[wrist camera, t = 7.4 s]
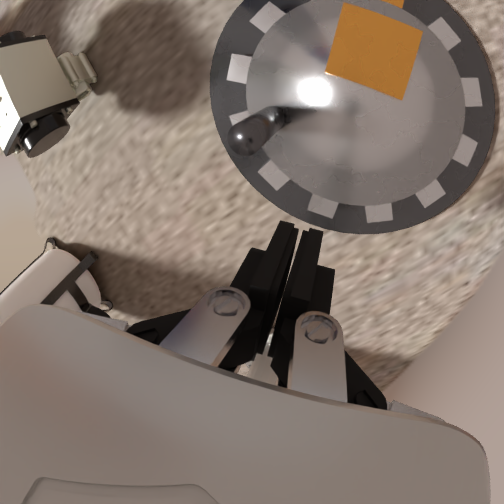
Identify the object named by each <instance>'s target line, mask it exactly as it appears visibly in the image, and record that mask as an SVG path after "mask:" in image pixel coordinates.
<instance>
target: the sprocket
mask: <svg viewBox="0 0 504 504" xmlns="http://www.w3.org/2000/svg"><path fill="white" fill-rule="evenodd" d="M403 3H404V0H311V1H309V2H307V3H304V4H302V5H300V6H298V7H296V8H294V9H293V10H291V11H289V12H288V13H286V14H285V13H284V12H283V11H282V10H280V9H279V8H278V7H276V6H275V5H274V4H272V3H271V2H270V1H269V2H268V3H267V4H266V5H265V6H264V7H263V8H262V9H261V10H260V11H259V12H258V13H257V14H256V15H255V16H254V17H253V18H252V19H251V20H250V22H251V23H252V24H254V25H255V26H256V27H257V28H259V29H260V30H261V31H263V32H264V33H265V35H264V36H263V38H262V39H261V41H260V42H259V44H258V45H257V48H256V50H255V52H254V54H253V56H247V55H242V54H232V55H231V60H230V65H229V70H228V75H227V80H229V81H234V82H239V83H244V84H246V100H247V108H248V109H247V110H244V111H240V112H237V113H234V114H232V115H230V116H229V117H230V120H231V122H232V125H233V126H232V127H231V128H230V130H229V132H228V136H227V140H228V144H229V146H230V148H231V149H232V150H233V151H234V152H235V153H237V154H239V155H242V156H250V155H253V154H255V153H256V152H257V151H258V150H259V149H260V148H261V147H262V148H263V150H264V151H265V152H266V154H267V155H268V157H269V158H270V159H269V160H268V161H267V162H266V163H265V164H264V165H263V166H262V167H261V168H260V169H259V171H258V173H259V174H260V175H261V176H262V177H263V178H264V179H265V180H266V181H267V182H268V183H269V184H270V185H271V186H272V187H273V188H274V189H275V190H276V191H277V190H278V189H279V188H281V187H282V186H283V185H284V184H285V183H286V182H288V181H289V180H290V179H291V180H292V181H293V182H295V183H296V184H298V185H299V186H300V187H302V188H304V189H306V190H307V191H309V192H311V193H313V194H312V197H311V200H310V203H309V206H308V209H307V210H309V211H312V212H315V213H318V214H320V215H323V216H326V217H329V218H332V219H333V216H334V214H335V211H336V209H337V206H338V204H339V203H343V204H348V205H359V206H365V210H366V217H367V223H372V222H381V221H390V220H393V215H392V205H391V203H392V202H395V201H399V200H402V199H405V198H407V197H409V196H411V195H413V194H415V195H416V196H417V197H418V199H419V200H420V202H421V203H422V205H423V206H424V208H426V207H428V206H429V205H430V204H432V203H433V202H435V201H436V200H438V199H439V198H440V197H442V196H443V195H445V194H446V193H445V192H444V190H443V188H442V187H441V185H440V184H439V182H438V181H437V179H436V178H437V177H438V176H439V175H440V174H441V173H442V172H443V171H444V169H445V168H446V167H447V165H448V164H449V162H450V161H451V159H454V160H456V161H458V162H459V163H461V164H463V165H465V166H467V167H468V165H469V163H470V160H471V158H472V156H473V153H474V151H475V149H476V146H477V144H478V143H477V142H476V141H475V140H473V139H472V138H470V137H469V136H467V135H465V134H463V127H464V122H465V107H474V106H482V99H481V93H480V86H479V81H478V78H476V77H460V76H459V73H458V70H457V68H456V65H455V63H454V61H453V59H452V58H451V56H450V54H449V52H448V51H449V50H450V49H451V48H453V47H454V46H455V45H457V44H458V43H459V42H461V40H460V39H459V37H458V36H457V35H456V34H455V32H454V31H453V30H452V29H451V28H450V26H449V25H448V24H447V23H446V22H445V20H444V19H443V18H442V17H440V18H438V19H436V20H434V21H433V22H431V23H430V24H429V25H427V26H426V25H425V24H423V23H422V22H421V21H420V20H419V19H417V18H416V17H415V16H413V15H411V14H410V13H408V12H406V11H405V10H403V9H402V7H403Z"/></svg>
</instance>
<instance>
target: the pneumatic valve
mask: <svg viewBox="0 0 504 504" xmlns="http://www.w3.org/2000/svg"><path fill="white" fill-rule="evenodd" d="M96 77H97V74H96V73H95V71H94V69H93V67H92V66H91V64H90V62H89V60H88V58H87V57H86V55H85V54H84V53H79V54H78V55H77V56H74V55H73V54H72V53H71V52H66V53H63V54H61V55H60V56H58V57H57V58H56V57H55V55H54V53H53V51H52V49H51V47H50V45H49V43H48V41H47V39H46V37H45V35H40V36H35V35H33V36H31V37H28V38H26V36H25V34H24V33H23V32H21V31H13V32H9V33H7V34H5V35H3V36H1V37H0V145H1V147H2V149H3V151H4V153H5V155H6V156H8V155H10V154H12V153H14V152H16V154H18V153H20V152H21V151H23V150H24V151H25V153H26V154H27V156H28V157H29V158H32V157H36V156H38V155H40V154H42V153H43V152H45V151H47V150H48V149H50V148H51V147H52V146H54V145H55V144H56V143H58V142H59V141H60V140H61V139H62V138H63V137H64V136H65V135H66V134H67V133H68V131H69V129H70V125H69V123H68V121H67V118H68V117H69V116H70V114H71V113H72V112H73V111H74V110H75V108H76V107H77V106H78V105H79V104H80V102H79V101H81V100H82V99H84V98H85V97H87V96H88V95H89V94H90V92H91V90H92V88H91V86H90V85H89V84H90V83H95V82H96V81H97V79H96Z"/></svg>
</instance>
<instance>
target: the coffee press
mask: <svg viewBox="0 0 504 504" xmlns="http://www.w3.org/2000/svg"><path fill="white" fill-rule="evenodd" d="M47 242H51V243H52V245H53V249H51V250H49V251H47V252H46V253H45V254H44V251H45V249H46V245H47ZM44 251H43V253H42V254H41V255H40V256H39V257H38V258H37V259H35V260H34V261H33V262H32V263H31V264H30V265H29V266H28V267H27V268H26V269H24V270H23V272H21V273H20V274H19V275H18V276H17V277H16V278H15V279H14V280H13V281H12V282H11V283H10V284H9V285H8V286H7V287H6V288H5V289H4V290H3V291H2V292H1V293H0V324H1V323H2V322H3V321H4V320H5V319H6V318H7V317H8V316H10V315H11V314H12V313H14V312H15V311H17V310H18V309H20V308H22V307H24V306H27V305H33V304H45V305H55V306H59V307H63V308H68V309H71V310H74V311H77V312H85V313H89V314H93V315H98V316H102V317H107V318H110V316H109V315H108V314H107V313H106V312H109V311H110V310H111V309H112V308H113V304H112V303H111V302H110V301H107V300H101V296H100V292H99V289H98V286H97V284H96V282H95V280H94V278H93V277H92V275H91V274H90V272H89V271H88V268H89V267H90V266H91V265H92V264H93V263H94V262H95V261H96V260H97V259H98V257H97V256H96V255H95V254H94V253H93V252H92V251H91V252H90V253H89V254H88V255H87V256H86V257H85V258H84V259H83V260H82V261H81V262H80V261H79V260H78V259H77V258H76V257H74V256H73V255H71V254H70V253H68V252H66V251H64V250H61V249H55V240H54V239H53V238H48V239H47V241H46V243H45V246H44ZM101 304H107V305H108V306H109V310H101V309H99V308H100V305H101Z"/></svg>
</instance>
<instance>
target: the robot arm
mask: <svg viewBox="0 0 504 504" xmlns="http://www.w3.org/2000/svg"><path fill="white" fill-rule="evenodd" d="M298 231H299V229H297V228H294V224H293V223H289V222H285V221H280V222H279V224H278V226H277V229H276V231H275V233H274V235H273V237H272V239H271V241H270V244H269V246H268V248H267V250H266V251H263V250H260V249H256V248H251V249H250V251H249V253H248V254H247V256H246V258H245V260H244V262H243V263H242V265H241V267H240V269H239V271H238V272H237V274H236V276H235V278H234V280H233V281H232V283H231V285H230V287H226V286H222V287H216V288H214V289H211V290H210V291H208V292H207V293H206V294H205V295H204V296H203V297H202V298H201V299H200V300H199V301H198V302H197V304H196V305H195V306H194V307H193V308H192V309H189V310H185V311H181V312H177V313H173V314H169V315H165V316H161V317H157V318H153V319H149V320H145V321H141V322H138V323H136V324H133V325H132V326H130V325H128V322H127V321H122V320H117V319H112V318H107V317H102V316H98V315H93V314H89V313H85V312H77V311H74V310H71V309H68V308H63V307H59V306H55V305H45V304H33V305H27V306H24V307H22V308H20V309H18V310H17V311H15V312H14V313H12V314H11V315H10V316H8V317H7V318H6V319H5V320H4V321H3V322H2V323H1V324H0V504H490V476H489V466H488V461H487V457H486V453H485V451H484V448H483V446H482V445H481V443H480V442H479V441H478V440H477V439H476V438H474V437H473V436H472V435H470V434H469V433H467V432H466V431H464V430H462V429H460V428H458V427H457V426H454V425H451V424H449V423H446V422H445V421H444V420H442V419H441V418H439V417H436V416H434V415H431V414H428V413H425V412H423V411H420V410H418V409H415V408H412V407H409V406H407V405H404V404H402V403H399V402H397V401H394V400H393V401H392V402H391V403H390V402H388V401H386V398H385V397H384V395H383V394H382V392H381V391H380V390H379V389H378V388H377V387H376V385H375V384H374V383H373V382H372V381H371V380H370V379H369V377H368V376H367V375H366V374H365V373H364V372H363V371H362V369H361V368H360V367H359V366H358V365H357V364H356V363H355V361H354V360H353V359H352V358H351V357H350V356H349V355H348V353H347V352H346V351H345V350H344V341H343V331H342V328H341V325H340V324H339V322H338V321H337V320H336V319H335V318H333V317H332V316H330V315H329V314H330V307H331V300H332V292H333V284H334V275H335V269H331V268H327V267H324V266H320V265H317V263H318V258H319V253H320V248H321V242H322V237H323V231H320V230H316V229H312V228H310V229H309V231H305V230H303V233H302V236H301V239H300V242H299V246H298V249H297V252H296V255H295V259H294V262H293V265H292V268H291V271H290V274H289V270H290V266H291V261H292V257H293V253H294V249H295V244H296V240H297V236H298ZM288 274H289V277H288ZM287 278H288V281H287ZM286 282H287V284H286ZM285 286H286V287H285ZM284 289H285V290H284ZM282 296H283V297H282ZM281 299H282V301H281ZM280 302H281V304H280ZM279 305H280V308H279ZM278 308H279V312H278V316H277V320H276V324H275V328H274V329H272V326H273V323H274V320H275V317H276V314H277V311H278ZM244 363H245V364H246V366H247V367H248V368H249V371H248V374H247V377H246V376H242V375H239V374H237V373H238V372H239V369H240V367H241V365H242V364H244Z"/></svg>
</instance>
